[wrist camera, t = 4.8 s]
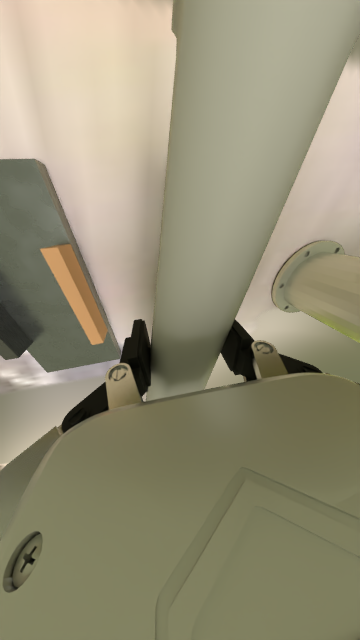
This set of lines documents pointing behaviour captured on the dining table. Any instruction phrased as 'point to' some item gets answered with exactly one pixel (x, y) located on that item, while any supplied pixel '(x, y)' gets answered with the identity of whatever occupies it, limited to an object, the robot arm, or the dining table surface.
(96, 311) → the bar
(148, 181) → the dining table surface
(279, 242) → the dining table surface
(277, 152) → the tube
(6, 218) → the galvanized metal plate
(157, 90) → the dining table surface
